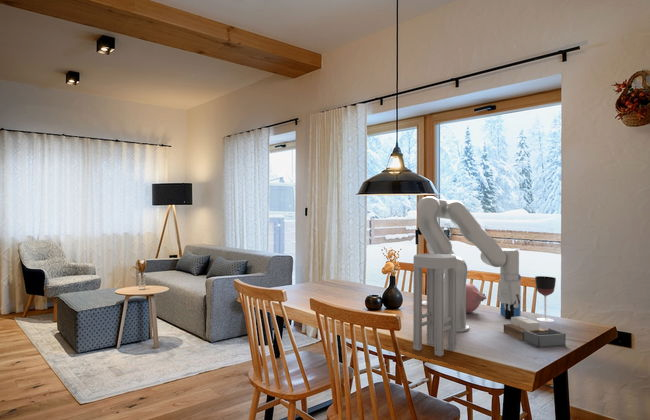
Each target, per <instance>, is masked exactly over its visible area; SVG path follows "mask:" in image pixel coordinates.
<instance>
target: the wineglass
mask: <svg viewBox="0 0 650 420" xmlns="http://www.w3.org/2000/svg"><path fill="white" fill-rule="evenodd" d="M534 279H535V287H536V291H537V292H538V293H539V294H540V295H542V296H544V300H543V301H544V303H543V304H544V307H543V311H544V313H543V317H537V318H536V320H537V321H539V322H547V323H548V322H549V323H551V322H555V320H554V319H552V318H549V317H548V318H547V297H549V295H552V294H553V293H554V292H555V287H556V283H557V281H556V279H557V278H556V277H553V276H546V275H545V276H544V275H543V276H542V275H539V276H536V275H535V277H534Z"/></svg>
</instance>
